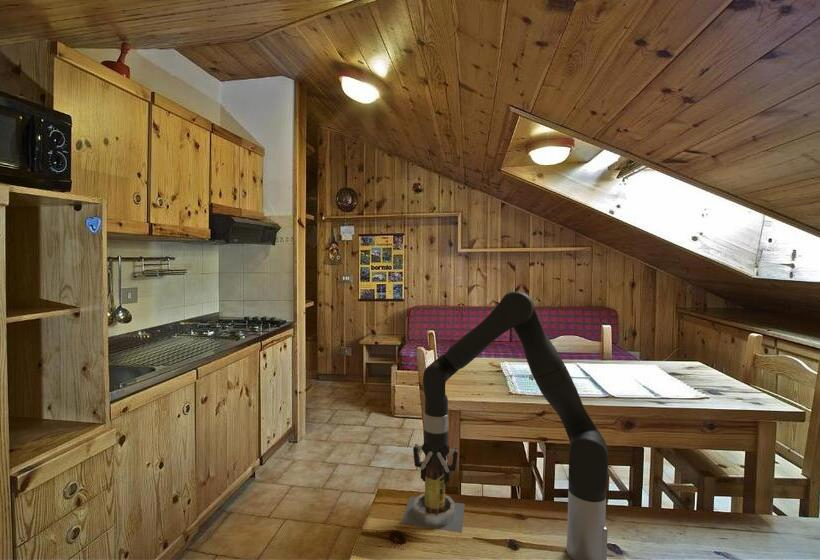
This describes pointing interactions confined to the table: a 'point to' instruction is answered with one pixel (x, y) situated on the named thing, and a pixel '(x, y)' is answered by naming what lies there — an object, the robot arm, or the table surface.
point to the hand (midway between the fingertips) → (435, 481)
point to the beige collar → (431, 518)
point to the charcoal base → (452, 526)
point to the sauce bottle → (434, 484)
